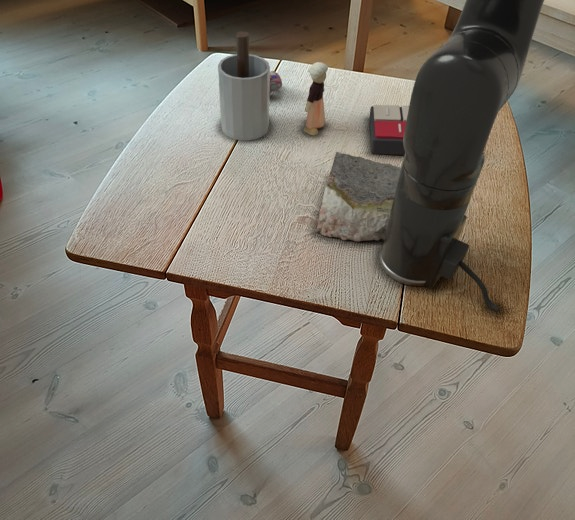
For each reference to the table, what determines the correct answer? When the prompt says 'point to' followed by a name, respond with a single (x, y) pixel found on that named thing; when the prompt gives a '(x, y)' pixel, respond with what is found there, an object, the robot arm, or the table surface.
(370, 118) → the black red box
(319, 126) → the grandmother figurine
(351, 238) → the geological specimen
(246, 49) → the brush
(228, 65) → the cup
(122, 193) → the table surface
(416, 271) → the robot arm
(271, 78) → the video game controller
